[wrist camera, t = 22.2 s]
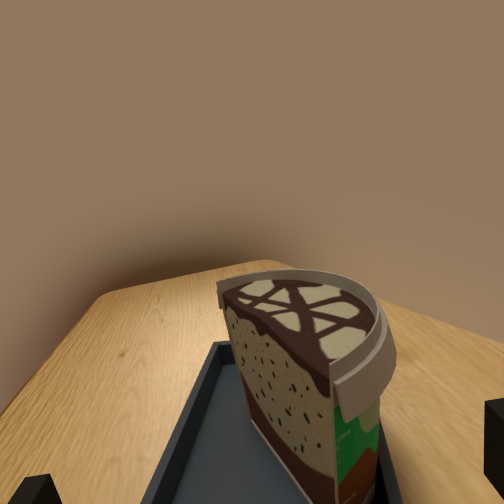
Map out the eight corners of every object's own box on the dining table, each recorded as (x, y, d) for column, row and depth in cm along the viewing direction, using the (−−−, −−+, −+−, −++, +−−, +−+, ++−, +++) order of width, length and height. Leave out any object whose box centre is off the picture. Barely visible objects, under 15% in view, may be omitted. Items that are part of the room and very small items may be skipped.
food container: (464, 501, 16) (464, 309, 14) (365, 584, 14) (340, 372, 11) (311, 374, 27) (294, 253, 25) (240, 408, 25) (213, 279, 22)
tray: (129, 608, 15) (112, 564, 15) (219, 368, 32) (213, 341, 31) (426, 630, 13) (424, 578, 12) (358, 359, 29) (355, 330, 29)
